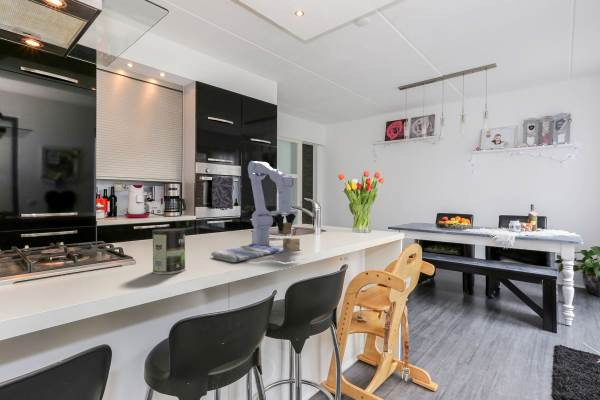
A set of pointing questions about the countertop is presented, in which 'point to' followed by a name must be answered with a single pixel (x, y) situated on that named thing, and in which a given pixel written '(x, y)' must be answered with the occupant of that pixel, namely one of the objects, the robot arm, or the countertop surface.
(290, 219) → the robot arm
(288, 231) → the walnut block
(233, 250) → the dish towel
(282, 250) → the board
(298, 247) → the oak base block
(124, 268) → the countertop surface
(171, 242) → the coffee can
